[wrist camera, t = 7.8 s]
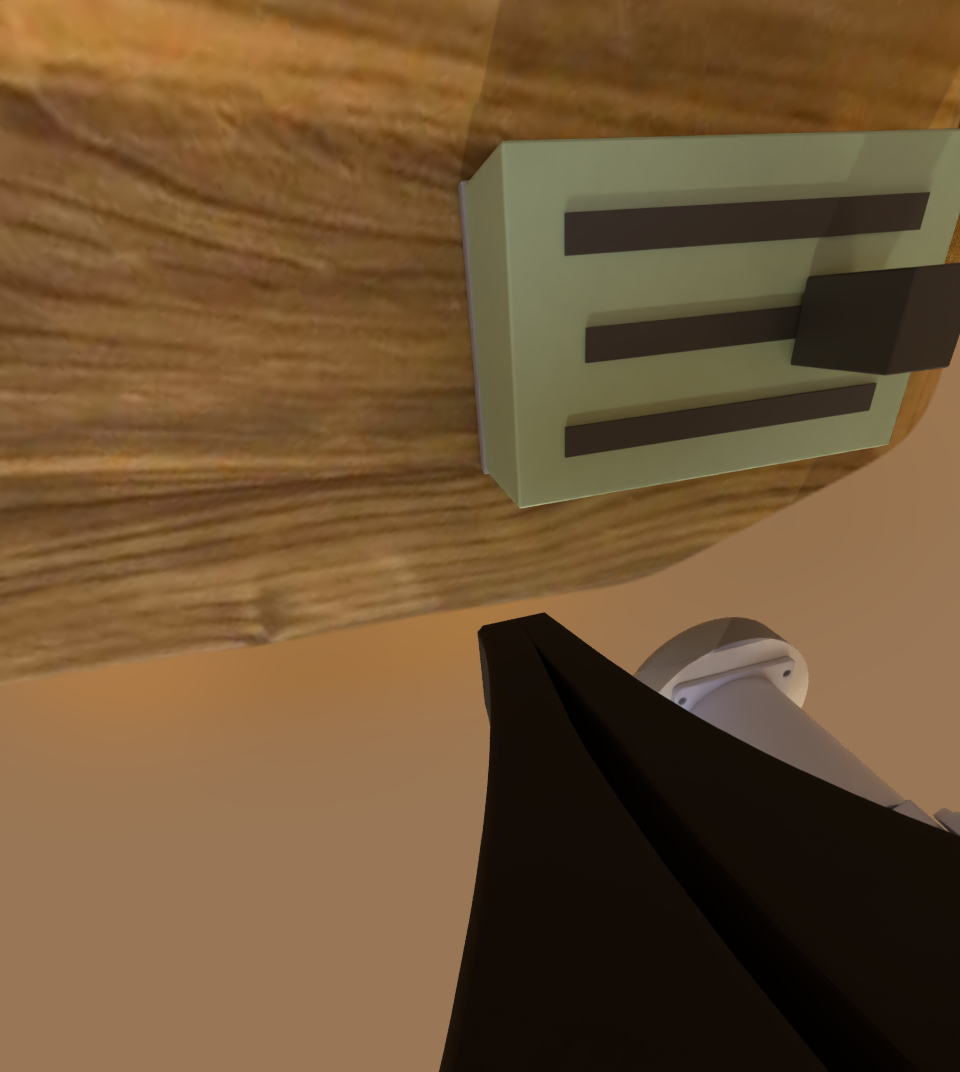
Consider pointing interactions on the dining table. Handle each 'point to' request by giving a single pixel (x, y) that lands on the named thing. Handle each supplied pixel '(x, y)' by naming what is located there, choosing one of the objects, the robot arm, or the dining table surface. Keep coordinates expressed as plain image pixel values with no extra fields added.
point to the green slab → (682, 298)
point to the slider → (880, 320)
